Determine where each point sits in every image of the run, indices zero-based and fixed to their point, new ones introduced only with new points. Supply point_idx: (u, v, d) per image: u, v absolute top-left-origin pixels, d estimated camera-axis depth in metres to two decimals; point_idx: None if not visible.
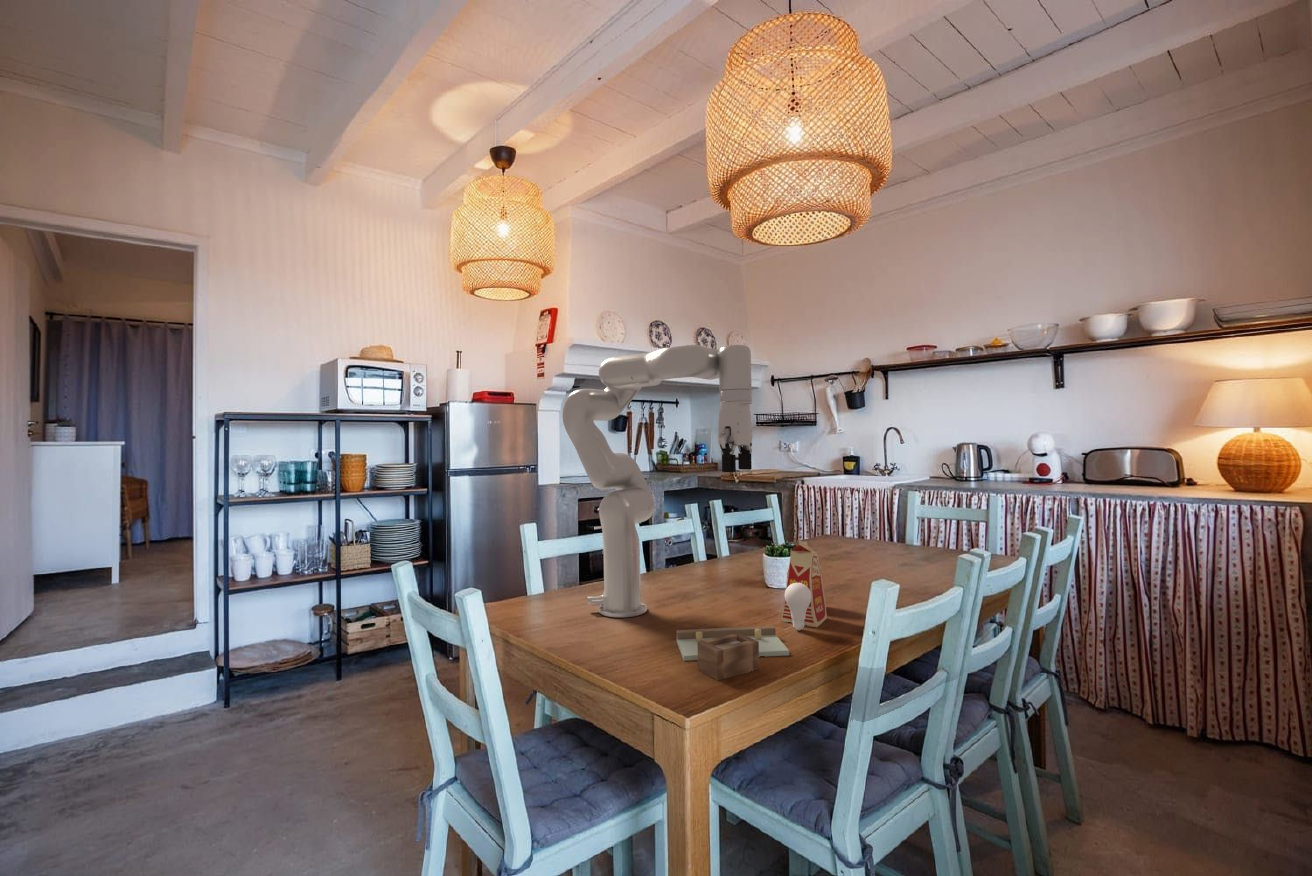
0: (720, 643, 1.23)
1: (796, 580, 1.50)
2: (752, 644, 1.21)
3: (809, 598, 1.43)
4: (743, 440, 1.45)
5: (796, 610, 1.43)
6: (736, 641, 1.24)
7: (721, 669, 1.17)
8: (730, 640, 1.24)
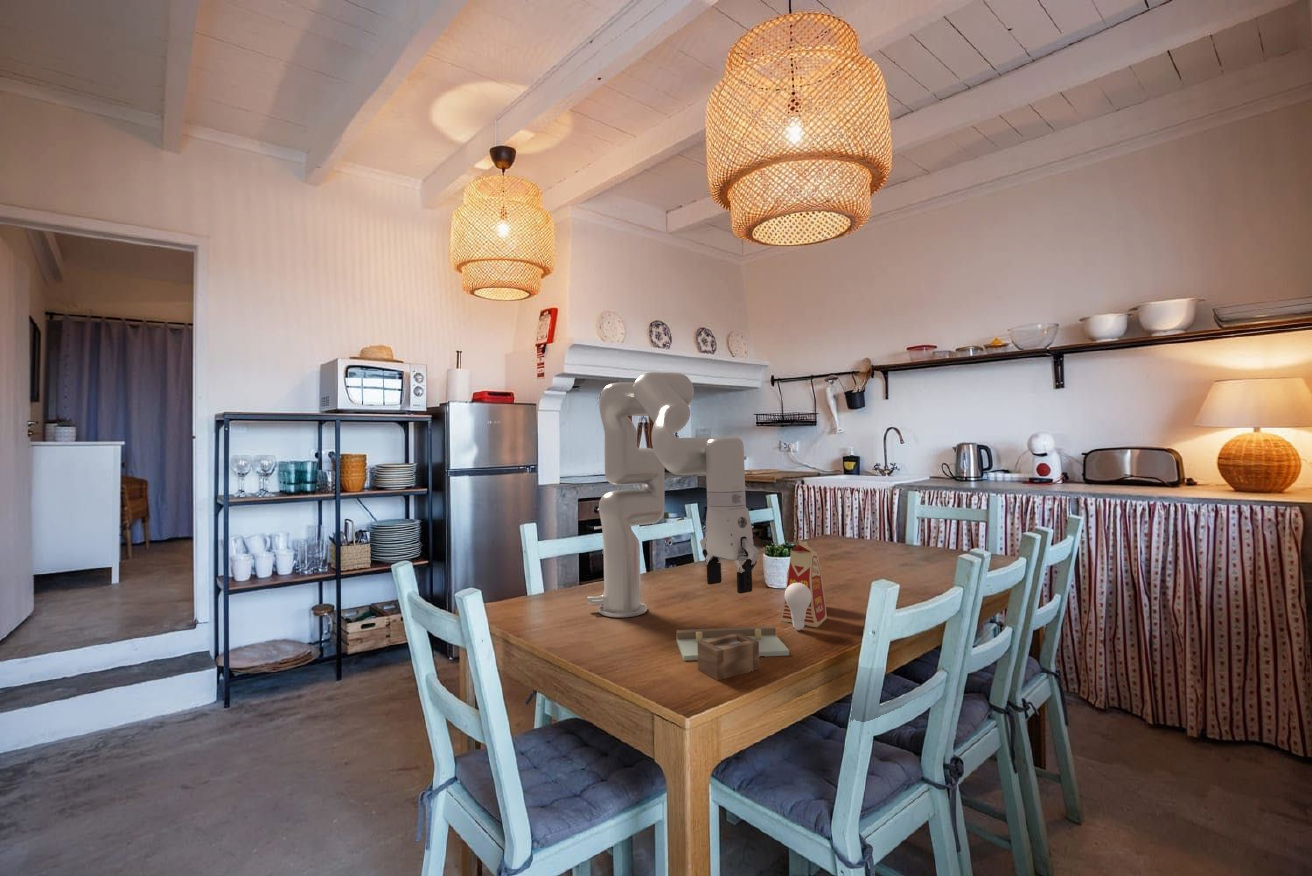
0: (720, 643, 1.23)
1: (796, 580, 1.50)
2: (752, 644, 1.21)
3: (809, 598, 1.43)
4: (715, 551, 1.22)
5: (796, 610, 1.43)
6: (736, 641, 1.24)
7: (721, 669, 1.17)
8: (730, 640, 1.24)
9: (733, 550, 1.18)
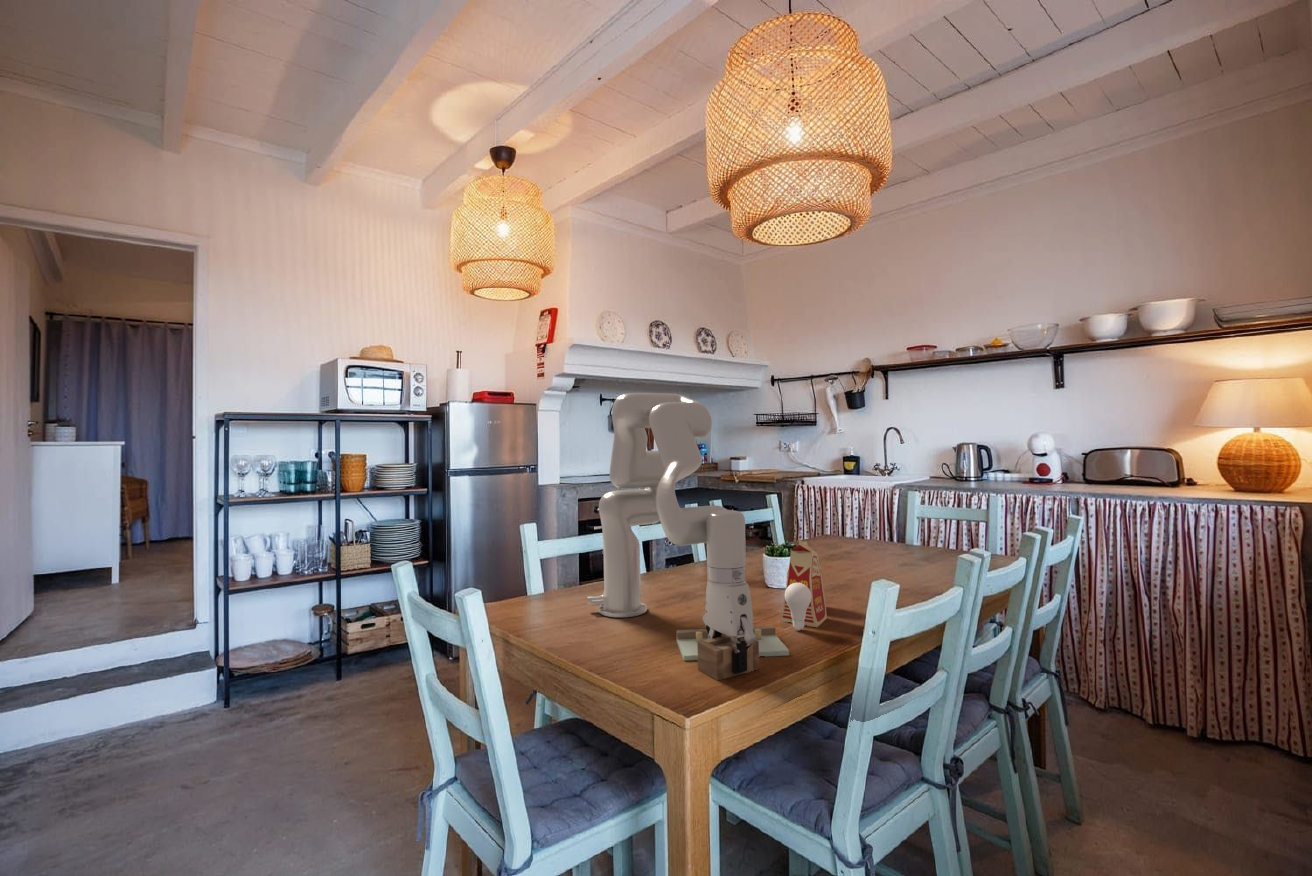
0: (720, 643, 1.23)
1: (796, 580, 1.50)
2: (752, 644, 1.21)
3: (809, 598, 1.43)
4: (715, 625, 1.21)
5: (796, 610, 1.43)
6: None
7: (721, 669, 1.17)
8: (730, 640, 1.24)
9: (732, 628, 1.17)
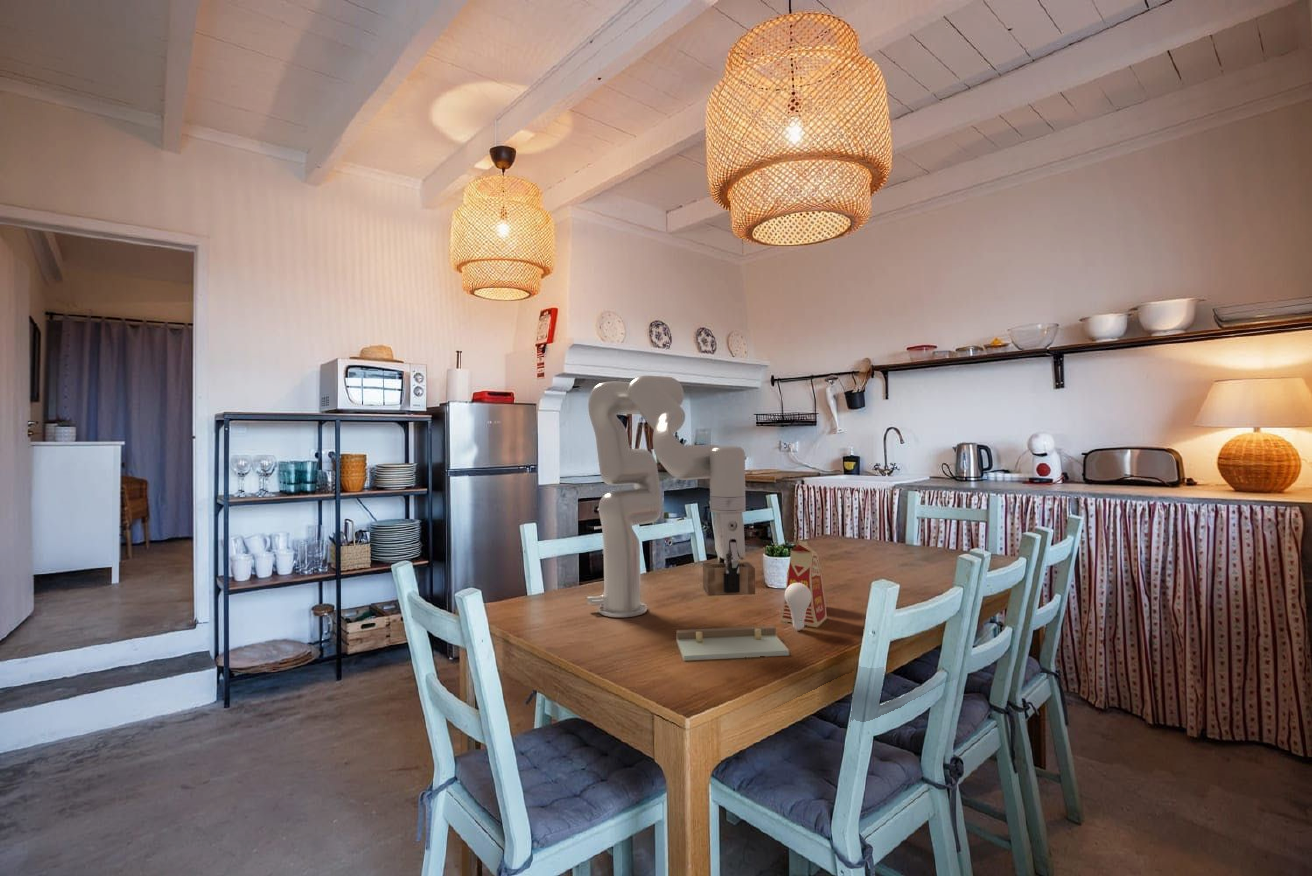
0: (724, 567, 1.35)
1: (796, 580, 1.50)
2: (748, 569, 1.30)
3: (809, 598, 1.43)
4: (717, 550, 1.34)
5: (796, 610, 1.43)
6: None
7: (712, 586, 1.30)
8: None
9: (722, 550, 1.29)
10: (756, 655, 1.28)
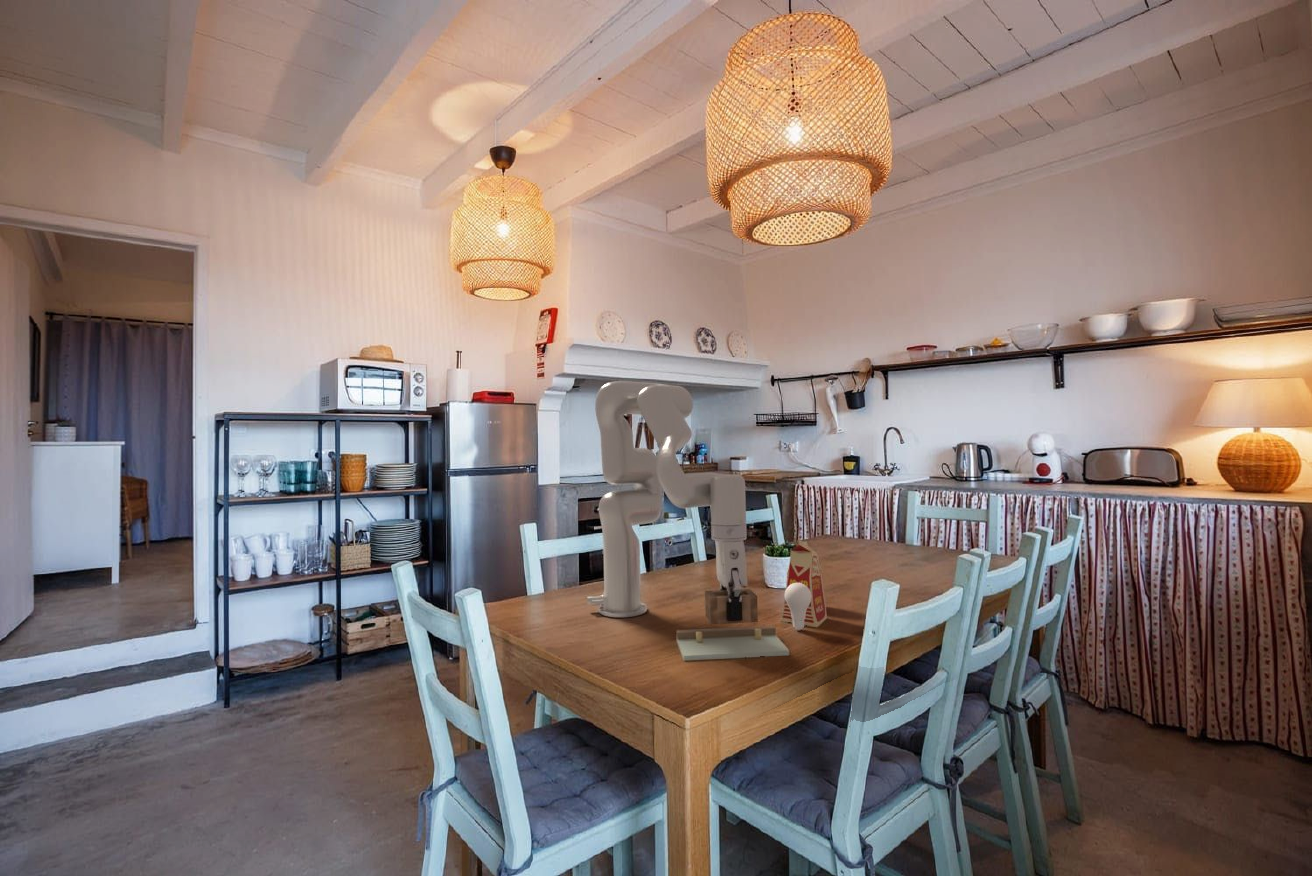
0: (726, 594, 1.35)
1: (796, 580, 1.50)
2: (750, 597, 1.31)
3: (809, 598, 1.43)
4: (719, 578, 1.35)
5: (796, 610, 1.43)
6: (743, 595, 1.35)
7: (715, 615, 1.30)
8: None
9: (724, 579, 1.29)
10: (756, 655, 1.28)
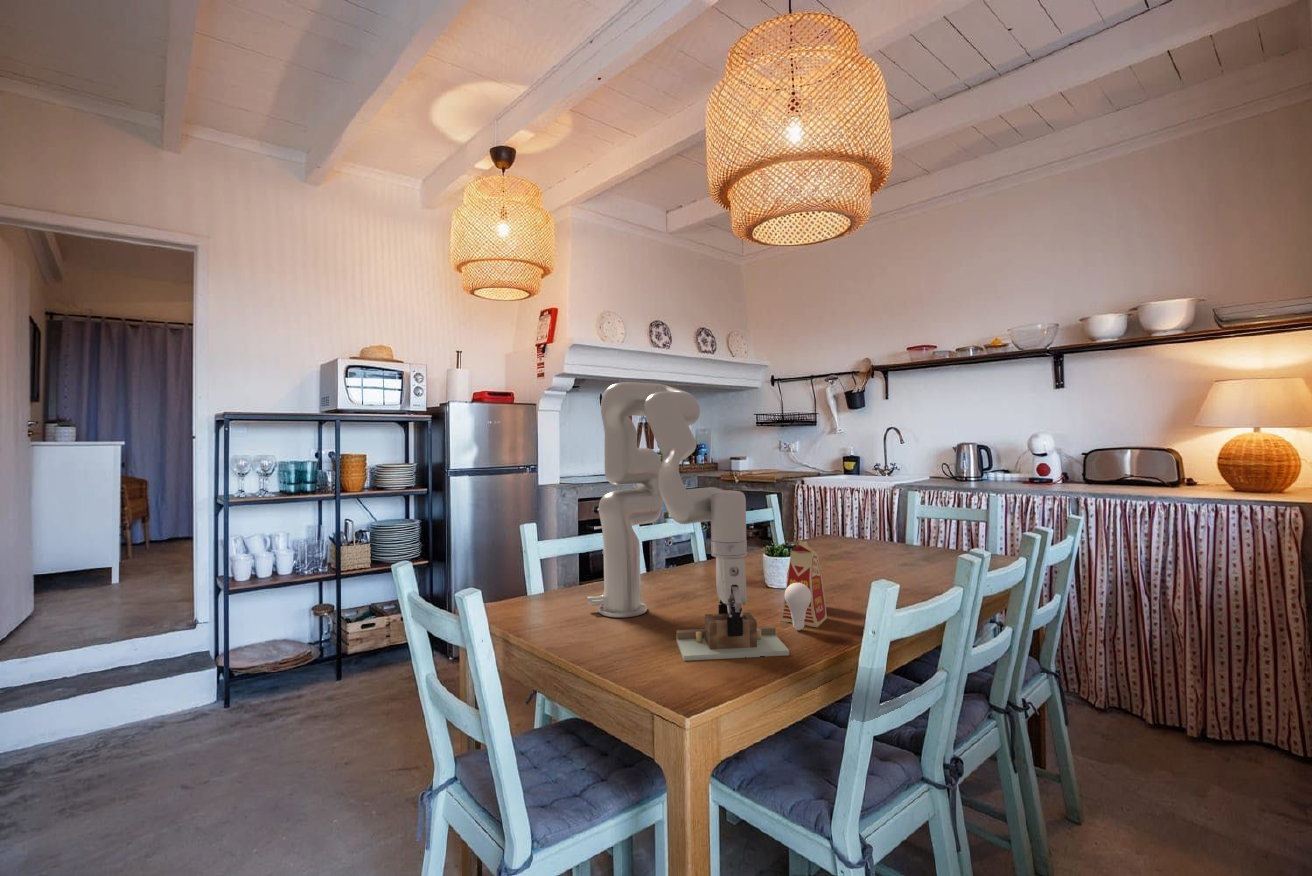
0: (725, 618, 1.35)
1: (796, 580, 1.50)
2: (749, 622, 1.31)
3: (809, 598, 1.43)
4: (719, 594, 1.35)
5: (796, 610, 1.43)
6: None
7: (714, 640, 1.30)
8: None
9: (724, 596, 1.29)
10: (756, 655, 1.28)
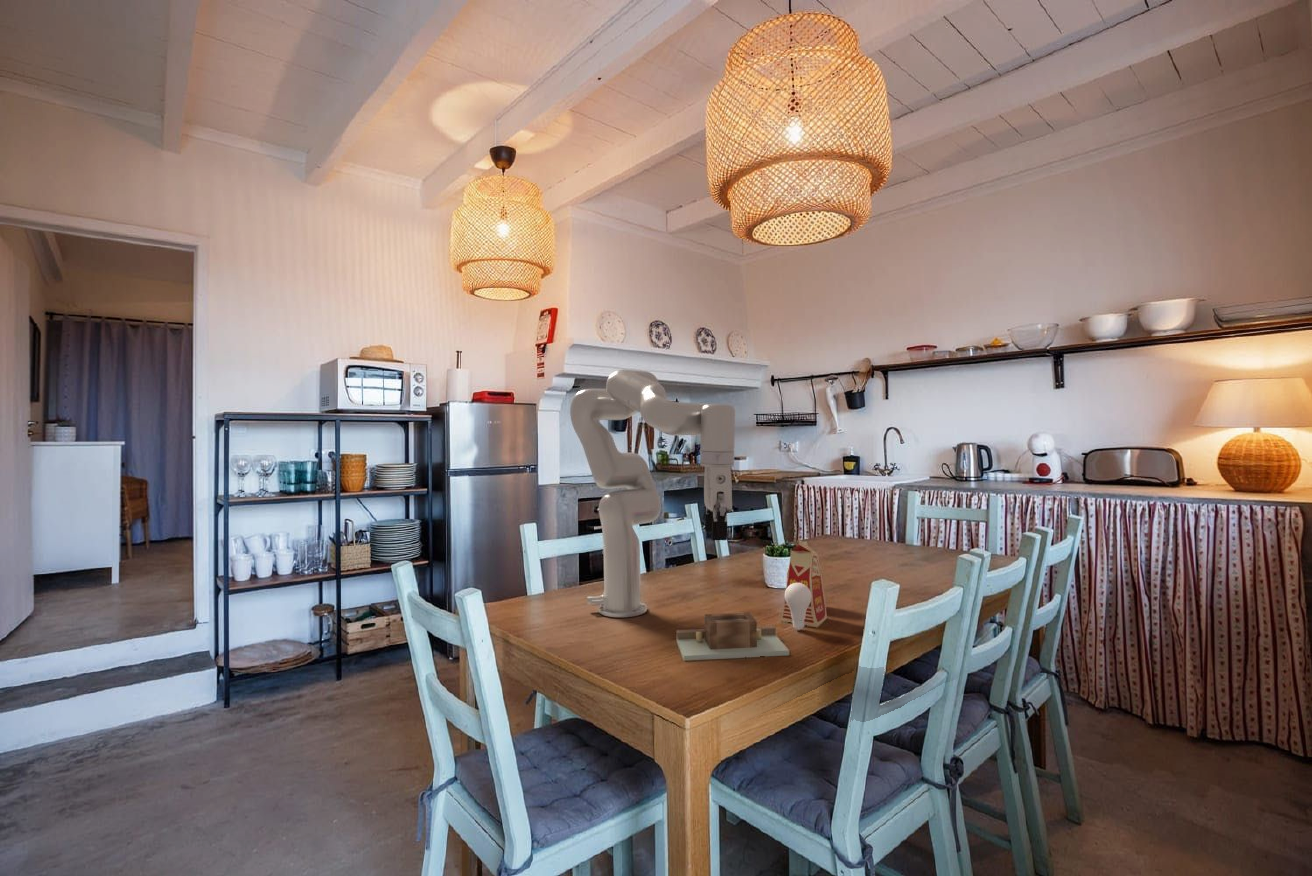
0: (725, 618, 1.35)
1: (796, 580, 1.50)
2: (749, 622, 1.31)
3: (809, 598, 1.43)
4: (705, 503, 1.40)
5: (796, 610, 1.43)
6: (742, 619, 1.35)
7: (714, 640, 1.30)
8: (737, 618, 1.36)
9: (710, 502, 1.35)
10: (756, 655, 1.28)
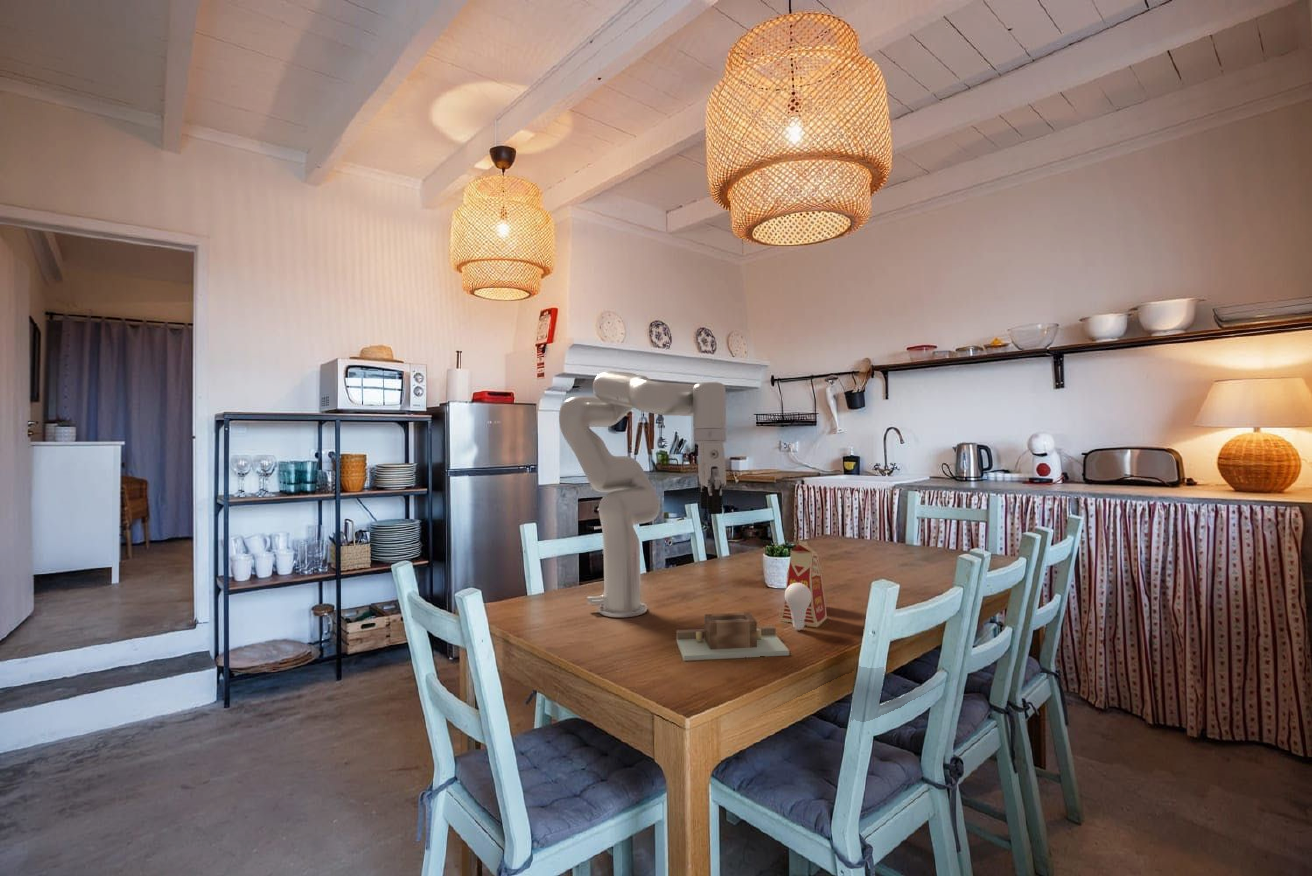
0: (725, 618, 1.35)
1: (796, 580, 1.50)
2: (749, 622, 1.31)
3: (809, 598, 1.43)
4: (700, 479, 1.44)
5: (796, 610, 1.43)
6: (742, 619, 1.35)
7: (714, 640, 1.30)
8: (737, 618, 1.36)
9: (705, 477, 1.38)
10: (756, 655, 1.28)
